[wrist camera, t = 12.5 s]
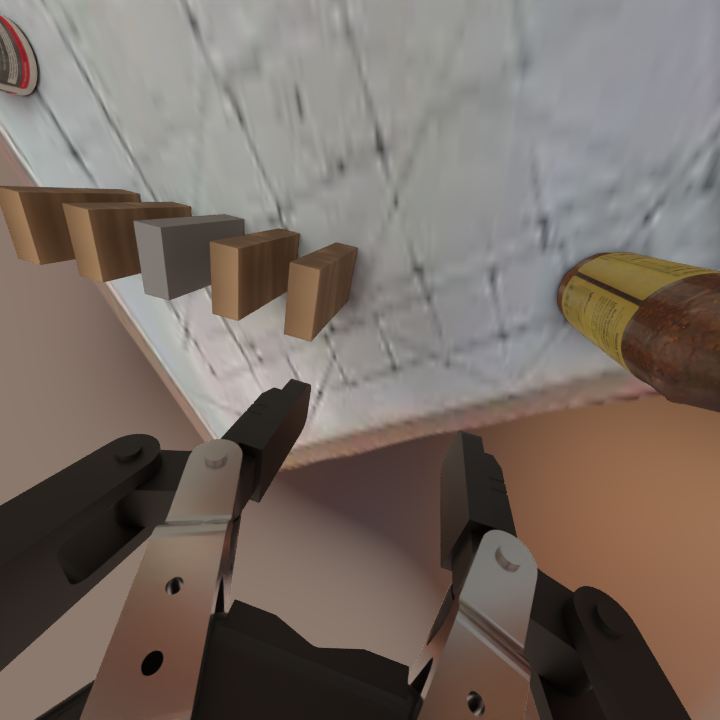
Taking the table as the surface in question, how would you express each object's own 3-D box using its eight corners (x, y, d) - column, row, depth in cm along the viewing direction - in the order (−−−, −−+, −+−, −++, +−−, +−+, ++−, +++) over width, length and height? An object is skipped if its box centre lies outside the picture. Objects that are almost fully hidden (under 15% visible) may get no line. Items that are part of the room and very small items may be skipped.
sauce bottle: (593, 339, 27) (867, 589, 10) (536, 298, 26) (716, 483, 9) (669, 275, 24) (1284, 480, 6) (605, 227, 23) (1083, 309, 6)
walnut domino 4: (357, 247, 28) (320, 269, 19) (347, 300, 30) (310, 341, 22) (336, 242, 28) (289, 262, 19) (328, 295, 31) (283, 333, 22)
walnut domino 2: (190, 206, 30) (87, 209, 21) (194, 259, 32) (103, 282, 23) (171, 202, 30) (62, 203, 21) (176, 255, 32) (79, 275, 24)
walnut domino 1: (139, 193, 30) (18, 192, 22) (146, 247, 33) (40, 264, 24) (121, 189, 30) (-6, 185, 22) (129, 242, 33) (18, 258, 24)
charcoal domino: (225, 267, 32) (144, 293, 23) (224, 214, 29) (133, 220, 21) (243, 272, 31) (169, 300, 23) (243, 219, 29) (160, 227, 20)
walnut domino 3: (299, 233, 28) (238, 248, 20) (294, 286, 31) (238, 320, 22) (279, 228, 29) (209, 241, 20) (275, 281, 31) (212, 313, 22)
